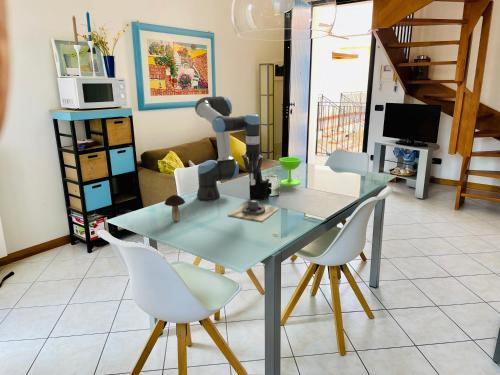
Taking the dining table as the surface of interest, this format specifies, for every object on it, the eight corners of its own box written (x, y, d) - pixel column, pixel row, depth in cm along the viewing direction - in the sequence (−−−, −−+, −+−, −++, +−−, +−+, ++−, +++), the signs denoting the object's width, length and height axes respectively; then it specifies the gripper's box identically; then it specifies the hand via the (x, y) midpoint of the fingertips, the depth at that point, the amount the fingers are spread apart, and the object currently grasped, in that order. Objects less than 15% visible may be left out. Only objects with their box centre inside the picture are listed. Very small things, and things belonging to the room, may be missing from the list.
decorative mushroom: (177, 216, 204) (175, 191, 199) (190, 220, 197) (188, 194, 193) (162, 222, 195) (159, 195, 191) (175, 226, 189) (172, 199, 184)
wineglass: (302, 185, 258) (302, 161, 253) (279, 186, 258) (279, 161, 253) (299, 180, 273) (299, 156, 268) (278, 180, 273) (278, 157, 268)
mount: (227, 215, 203) (227, 212, 202) (246, 204, 221) (246, 200, 221) (262, 222, 193) (262, 218, 192) (279, 209, 211) (279, 205, 210)
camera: (270, 201, 226) (270, 170, 220) (249, 200, 228) (248, 169, 223) (272, 196, 235) (272, 166, 229) (252, 195, 238) (251, 166, 232)
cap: (246, 212, 205) (246, 202, 203) (251, 209, 210) (251, 199, 209) (255, 213, 202) (255, 203, 201) (260, 210, 208) (260, 200, 206)
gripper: (238, 143, 195) (239, 184, 202) (260, 145, 189) (260, 187, 197) (245, 141, 202) (246, 181, 209) (266, 143, 196) (266, 184, 203)
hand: (252, 184), depth 203 cm, fingers closed
